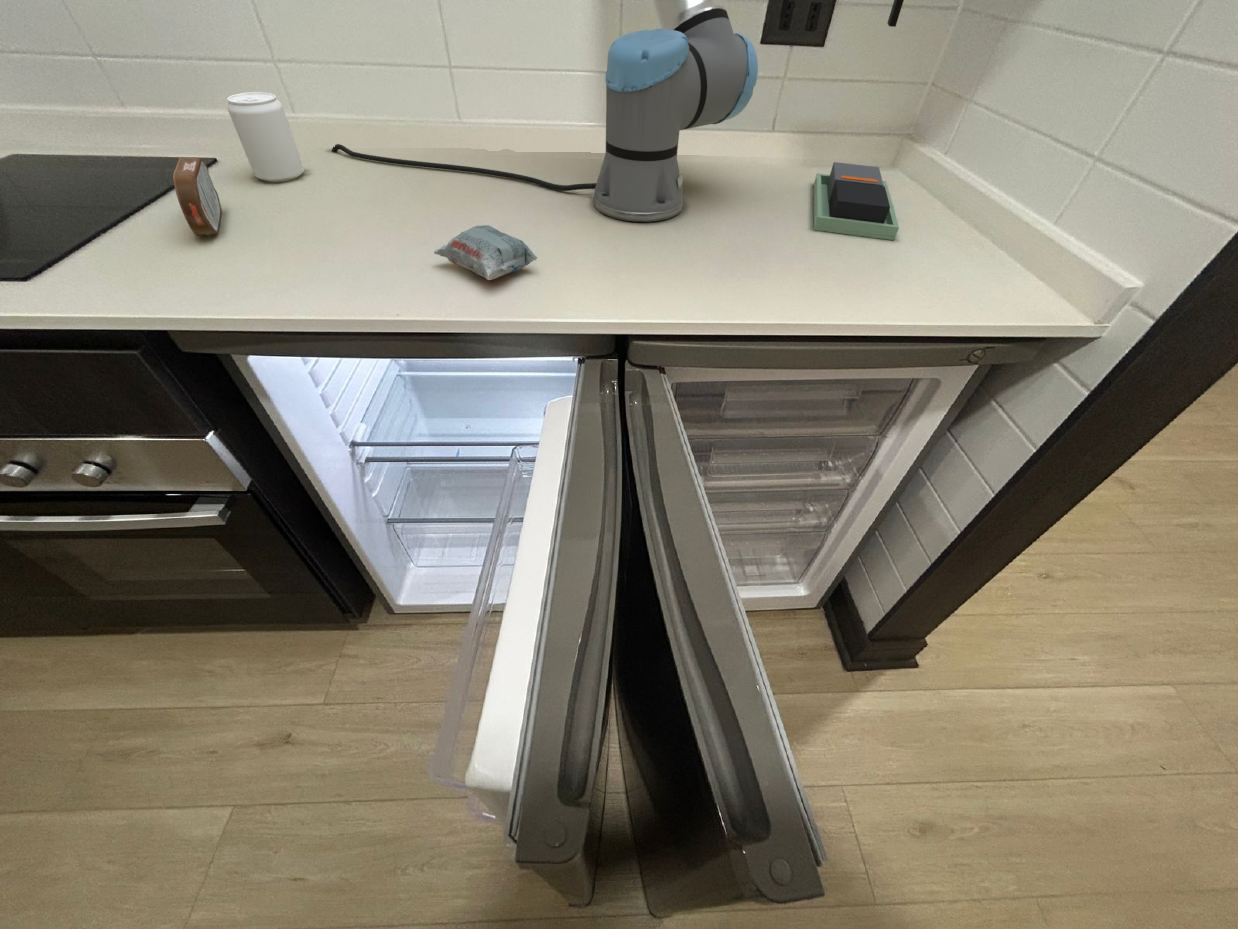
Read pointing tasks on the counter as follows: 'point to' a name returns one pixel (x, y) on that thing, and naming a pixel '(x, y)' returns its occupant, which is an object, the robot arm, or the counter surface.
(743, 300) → the counter surface
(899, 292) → the counter surface
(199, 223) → the tin
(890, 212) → the green tray
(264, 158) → the beverage can
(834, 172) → the pad
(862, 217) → the loose pad
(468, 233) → the packaged food
